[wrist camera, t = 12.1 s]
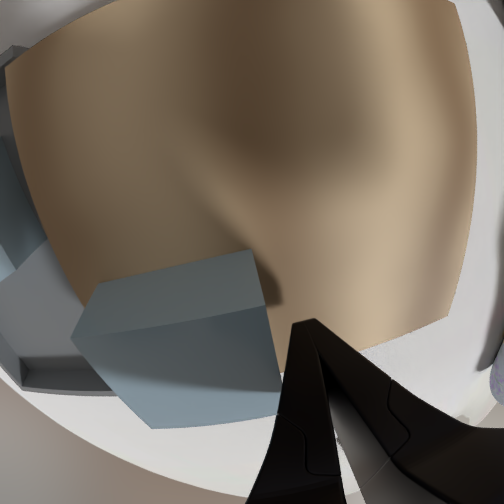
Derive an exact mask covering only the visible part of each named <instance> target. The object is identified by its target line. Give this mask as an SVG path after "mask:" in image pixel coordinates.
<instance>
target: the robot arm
mask: <svg viewBox="0 0 504 504" xmlns="http://www.w3.org/2000/svg"><path fill="white" fill-rule="evenodd" d="M333 426H334V428H335V431H336V433H337V436H338V438H339V440H340V443H341V445H342V447H343V450H344V452H345V455H346V457H347V459H348V462H349V464H350V467H351V469H352V471H353V474H354V476H355V479H356V481H357V483H358V486H359V488H361V489H360V491H361V493H362V495H363V497H364V500H365V503H366V504H504V428H481V427H474V426H470V425H467V424H465V423H462V422H460V421H458V420H456V419H455V418H453V417H451V416H449V415H447V414H446V413H444V412H442V411H440V410H438V409H437V408H435V407H433V406H431V405H430V404H428V403H426V402H425V401H423V400H421V399H420V398H418V397H417V396H415V395H414V394H412V393H411V392H409V391H408V390H407V389H405V388H404V387H403V386H401V385H400V384H399V383H397V382H396V381H395V380H393V379H392V380H391V377H390V376H388V375H387V374H386V373H384V372H383V371H382V370H381V369H379V368H378V367H377V366H375V365H374V364H373V363H372V362H370V361H369V360H368V359H367V358H365V357H364V356H363V355H361V354H360V353H359V352H358V351H356V350H355V349H354V348H353V347H351V346H350V345H349V344H348V343H346V342H345V341H344V340H342V339H341V338H340V337H339V336H337V335H336V334H335V333H334V332H332V331H331V330H330V329H329V328H327V327H326V326H325V325H324V324H322V323H321V322H320V321H319V320H317V319H316V318H311V319H307V320H303V321H299V322H295V323H293V324H292V326H291V333H290V339H289V346H288V352H287V359H286V365H285V371H284V377H283V382H282V388H281V394H280V399H279V405H278V410H277V415H276V419H275V424H274V429H273V433H272V437H271V441H270V444H269V447H268V450H267V453H266V456H265V459H264V461H263V464H262V466H261V469H260V471H259V474H258V476H257V478H256V481H255V483H254V485H253V488H252V490H251V492H250V494H249V497H248V499H247V501H246V502H245V504H347V503H346V499H345V494H344V489H343V483H342V477H341V470H340V464H339V457H338V451H337V445H336V439H335V433H334V428H333Z"/></svg>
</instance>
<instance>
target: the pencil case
mask: <svg viewBox="0 0 504 504" xmlns="http://www.w3.org/2000/svg"><path fill="white" fill-rule="evenodd" d="M490 389H491V392H492V395H493V396H494V398H495V399H496V400H497V401H498V402H499V403H500V404H501V405H503V406H504V340H503V343H502V345H501V347H500V350H499V352H498V354H497V357H496V359H495V360H494V363H493V365H492V369H491V373H490Z"/></svg>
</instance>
